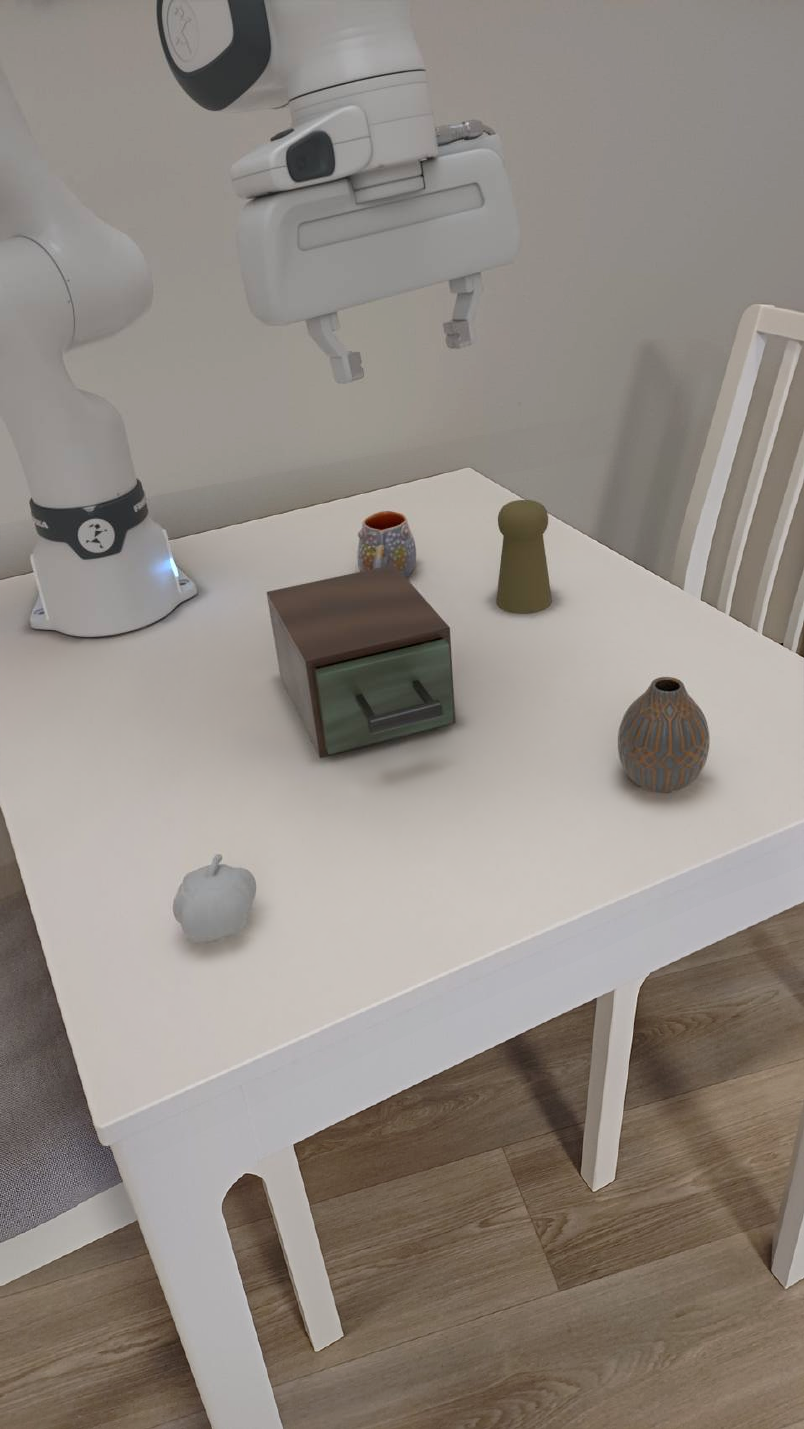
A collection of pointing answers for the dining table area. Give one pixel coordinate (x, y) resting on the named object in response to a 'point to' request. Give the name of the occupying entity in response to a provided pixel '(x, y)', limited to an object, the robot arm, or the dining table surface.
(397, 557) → the grey decorated pot
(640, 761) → the vase
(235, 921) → the garlic
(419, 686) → the drawer
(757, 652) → the dining table surface
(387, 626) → the cabinet
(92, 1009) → the dining table surface
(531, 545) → the olive green pawn
